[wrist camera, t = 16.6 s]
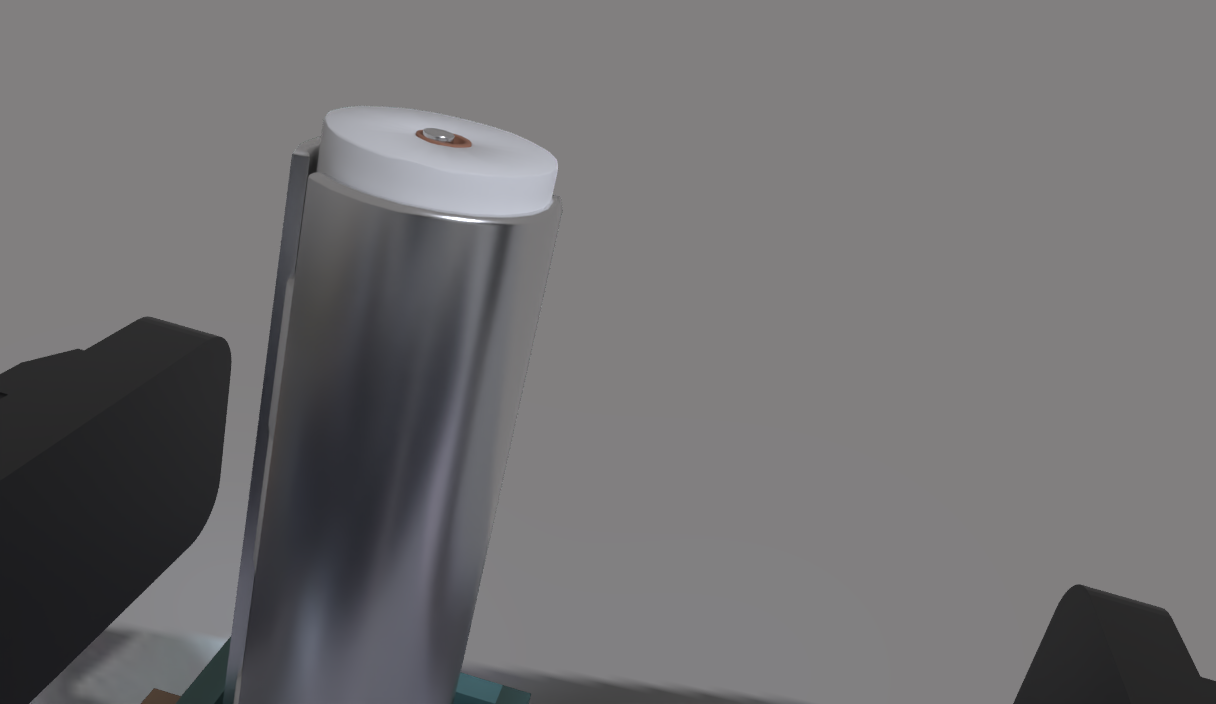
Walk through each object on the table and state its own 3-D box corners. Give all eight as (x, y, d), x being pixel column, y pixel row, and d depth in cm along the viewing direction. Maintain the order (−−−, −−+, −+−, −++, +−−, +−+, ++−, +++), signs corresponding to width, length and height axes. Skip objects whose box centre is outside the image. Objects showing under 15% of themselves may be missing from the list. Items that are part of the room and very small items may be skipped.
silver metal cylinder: (242, 801, 39) (343, 80, 30) (427, 843, 39) (583, 138, 30) (161, 965, 33) (257, 124, 24) (380, 1013, 33) (558, 196, 24)
